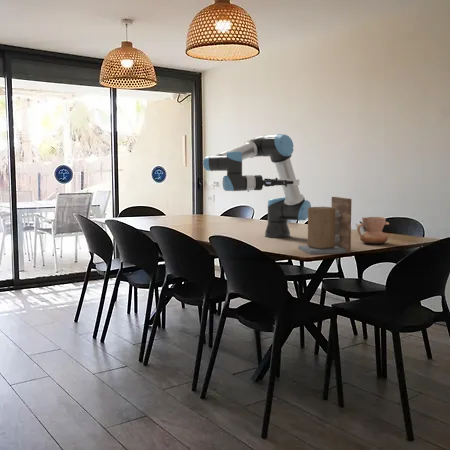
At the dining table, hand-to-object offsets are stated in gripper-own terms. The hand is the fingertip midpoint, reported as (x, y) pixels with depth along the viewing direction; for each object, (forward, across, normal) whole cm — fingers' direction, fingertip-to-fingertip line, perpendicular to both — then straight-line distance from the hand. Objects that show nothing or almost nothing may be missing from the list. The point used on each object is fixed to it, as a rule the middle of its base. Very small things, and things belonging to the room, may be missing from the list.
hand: (294, 181), depth 266 cm
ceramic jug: (+46, -6, -35) cm, 58 cm away
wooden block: (+10, +11, -33) cm, 36 cm away
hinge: (+57, -38, -35) cm, 77 cm away
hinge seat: (+10, +11, -34) cm, 37 cm away
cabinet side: (+19, +11, -34) cm, 41 cm away
